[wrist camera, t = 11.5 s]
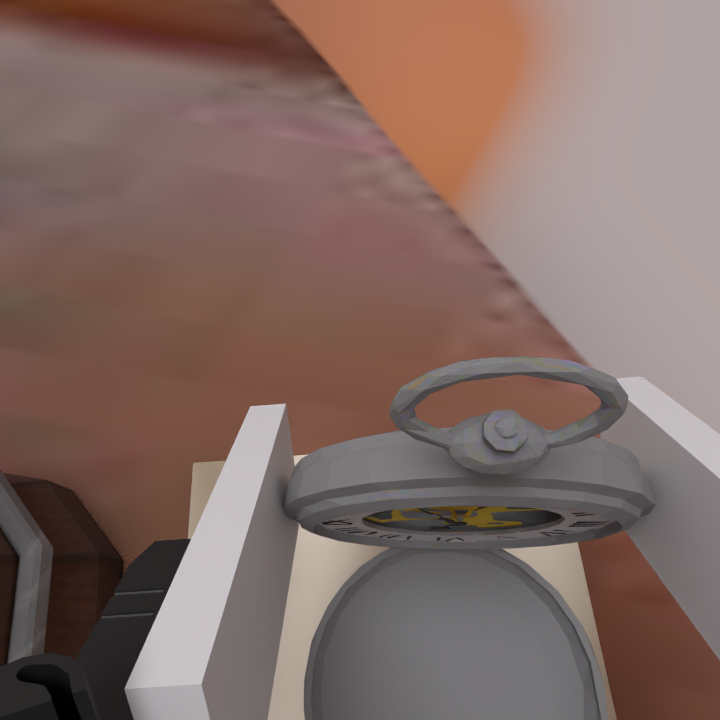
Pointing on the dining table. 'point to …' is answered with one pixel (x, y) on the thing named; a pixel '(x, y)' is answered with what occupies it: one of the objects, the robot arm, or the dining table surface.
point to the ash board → (338, 563)
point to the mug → (50, 570)
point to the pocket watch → (464, 556)
